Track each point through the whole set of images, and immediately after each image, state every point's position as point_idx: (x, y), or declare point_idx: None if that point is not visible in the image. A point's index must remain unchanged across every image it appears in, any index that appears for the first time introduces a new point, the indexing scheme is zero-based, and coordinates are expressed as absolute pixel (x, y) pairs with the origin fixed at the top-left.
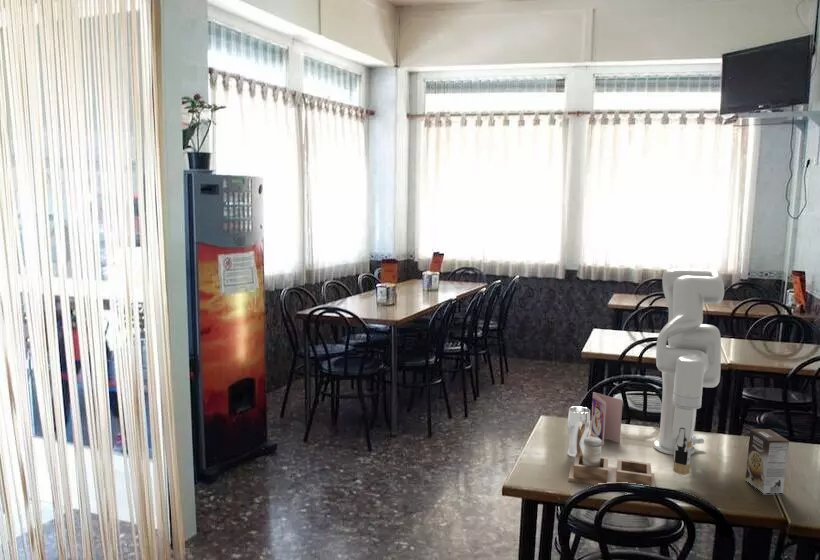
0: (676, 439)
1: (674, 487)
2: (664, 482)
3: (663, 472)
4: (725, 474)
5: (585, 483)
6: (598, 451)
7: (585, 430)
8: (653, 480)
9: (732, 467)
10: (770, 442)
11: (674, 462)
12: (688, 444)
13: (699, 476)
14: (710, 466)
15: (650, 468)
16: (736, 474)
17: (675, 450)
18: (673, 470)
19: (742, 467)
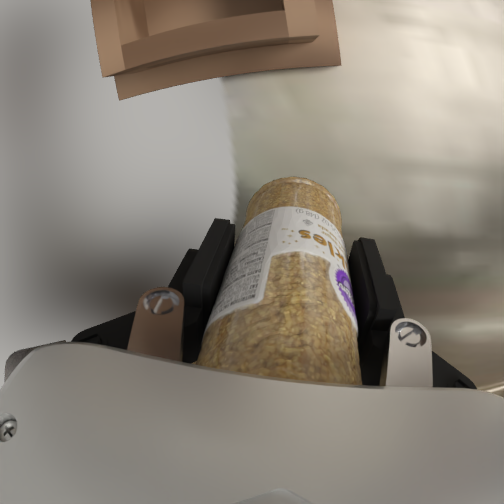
0: (229, 360)
1: (247, 165)
2: (286, 117)
3: (414, 115)
4: (443, 333)
5: None
6: None
7: None
8: (235, 66)
9: (489, 343)
10: None
11: (269, 205)
12: None
13: (414, 264)
14: (498, 295)
15: (221, 42)
16: (445, 354)
17: (252, 262)
18: (275, 180)
19: (487, 360)
